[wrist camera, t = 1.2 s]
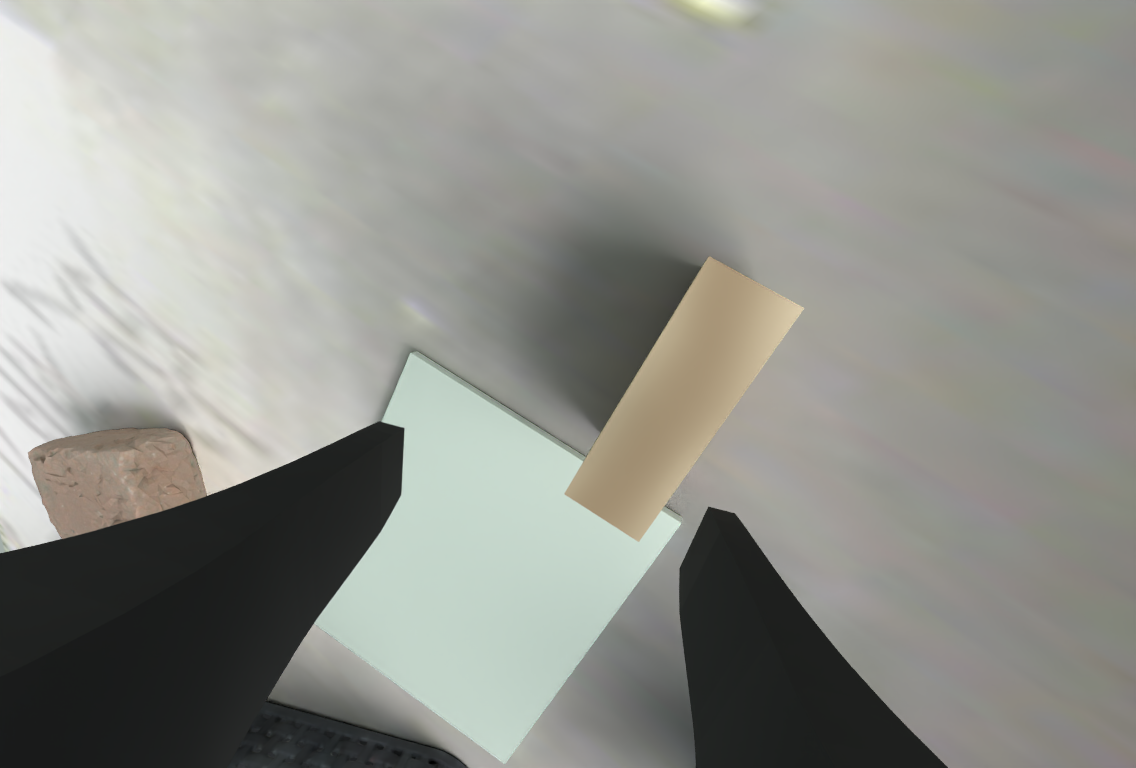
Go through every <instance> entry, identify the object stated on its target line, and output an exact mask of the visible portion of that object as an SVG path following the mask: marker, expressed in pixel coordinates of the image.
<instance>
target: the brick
mask: <svg viewBox="0 0 1136 768" xmlns="http://www.w3.org/2000/svg"><path fill="white" fill-rule="evenodd" d="M28 456H29V459H30V462H31V465H32V473H33V476H34V480H35V482H36V485H37V487H38V490H39V492H40V495H41V497H42V503H43V505H44V506H45V508H46V510H47V512H48V514H49V518H50V521H51V523H52V524H53V525H54V526H55V527H56V530H57V531H58V533H59V535H60V537H61V538H62V539H64V538H68V537H72V536H76V535H80V534H84V533H88V532H91V531H95V530H98V529H102V528H105V527H109V526H112V525H116V524H119V523H123V522H126V521H130V520H133V519H137V518H140V517H144V516H147V515H151V514H154V513H158V512H161V511H164V510H167V509H170V508H173V507H176V506H179V505H182V504H185V503H188V502H191V501H194V500H197V499H200V498H203V497H206V496H207V494H206V490H205V486H204V482H203V478H202V474H201V471H200V468H199V466H198V464H197V460H196V458H195V456H194V455H193V453H192V449H191V446H190V443H189V442H188V441H187V439H186V438H185V437H184V436H183V435H182V434H181V433H179V432H177V431H173V430H169V429H167V428H146V429H135V428H125V429H119V430H104V431H97V432H92V433H88V434H83V435H77V436H70V437H65V438H61V439H56V440H52V441H50V442H47V443H44V444H42V445H40V446H37V447H35V448H34V449H32V450H31V451H30V452H28Z"/></svg>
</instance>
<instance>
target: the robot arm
mask: <svg viewBox="0 0 1136 768" xmlns="http://www.w3.org/2000/svg"><path fill="white" fill-rule="evenodd" d="M404 431H405V428H403V427H399V426H395V425H391V424H387V423H384V422H377V423H375V424H373V425H370V426H368V427H366V428H364V429H361V430H359V431H357V432H355V433H353V434H351V435H349V436H347V437H345V438H343V439H340V440H338V441H336V442H334V443H332V444H330V445H328V446H326V447H323V448H321V449H319V450H317V451H315V452H313V453H311V454H308V455H306V456H304V457H302V458H300V459H298V460H295V461H293V462H291V463H289V464H286V465H284V466H281V467H279V468H277V469H274V470H272V471H269V472H267V473H265V474H262V475H260V476H257V477H255V478H253V479H250V480H248V481H245V482H243V483H241V484H238V485H236V486H233V487H230V488H228V489H225V490H222V491H220V492H217V493H214V494H211V495H209V496H206V497H203V498H200V499H197V500H194V501H191V502H188V503H185V504H182V505H179V506H176V507H173V508H170V509H167V510H164V511H161V512H158V513H154V514H151V515H147V516H144V517H140V518H137V519H133V520H130V521H126V522H123V523H119V524H116V525H112V526H109V527H105V528H102V529H98V530H95V531H91V532H88V533H84V534H80V535H76V536H72V537H68V538H64V539H60V540H56V541H52V542H48V543H44V544H40V545H35V546H31V547H27V548H22V549H18V550H13V551H9V552H5V553H0V768H227V767H228V765H229V764H230V762H231V760H232V758H233V756H234V755H235V753H236V751H237V749H238V747H239V746H240V744H241V742H242V740H243V739H244V737H245V735H246V734H247V732H248V730H249V728H250V727H251V725H252V723H253V722H254V720H255V718H256V716H257V715H258V713H259V711H260V710H261V708H262V706H263V704H264V703H265V701H266V699H267V698H268V696H269V694H270V693H271V691H272V689H273V687H274V686H275V684H276V683H277V681H278V679H279V678H280V676H281V674H282V673H283V671H284V669H285V668H286V666H287V664H288V663H289V661H290V660H291V658H292V656H293V655H294V653H295V651H296V650H297V648H298V646H299V645H300V643H301V642H302V640H303V639H304V637H305V636H306V634H307V633H308V631H309V630H310V628H311V627H312V625H313V624H314V622H315V621H316V620H317V618H318V617H319V615H320V614H321V613H322V611H323V610H324V609H325V607H326V606H327V605H328V603H329V602H330V601H331V599H332V598H333V597H334V595H335V594H336V592H337V591H338V590H339V588H340V587H341V586H342V584H343V583H344V582H345V580H346V579H347V578H348V576H349V575H350V574H351V572H352V571H353V570H354V568H355V567H356V565H357V564H358V563H359V561H360V560H361V559H362V557H363V556H364V555H365V553H366V552H367V550H368V549H369V548H370V546H371V545H372V544H373V542H374V541H375V539H376V538H377V537H378V535H379V534H380V532H381V531H382V529H383V527H384V525H385V524H386V522H387V520H388V518H389V517H390V515H391V513H392V511H393V509H394V508H395V506H396V504H397V502H398V500H399V498H400V497H401V492H402V472H403V451H404ZM679 605H680V621H681V630H682V638H683V646H684V655H685V663H686V670H687V678H688V686H689V694H690V702H691V710H692V718H693V728H694V739H695V752H696V768H948V767H947V766H946V765H945V764H944V763H943V762H942V761H941V760H940V759H939V758H938V757H937V756H936V755H935V754H934V753H933V752H932V751H931V750H930V749H929V748H928V747H927V746H926V745H925V744H924V743H923V742H922V741H921V740H920V739H919V738H918V737H917V736H916V735H915V734H914V733H913V732H912V731H911V730H910V729H909V728H908V727H907V726H906V725H905V724H904V723H903V722H902V721H901V720H900V719H899V718H898V717H897V716H896V715H895V714H894V713H893V712H892V711H891V710H890V709H889V708H888V706H887V705H886V704H885V703H884V702H883V701H882V700H881V699H880V698H879V697H878V696H877V694H876V693H875V692H874V691H873V690H872V689H871V688H870V687H869V686H868V684H867V683H866V682H865V681H864V680H863V679H862V678H861V677H860V676H859V675H858V673H857V672H856V671H855V670H854V669H853V668H852V667H851V666H850V664H849V663H848V662H847V661H846V660H845V659H844V657H843V656H842V655H841V654H840V653H839V652H838V650H837V649H836V648H835V647H834V645H833V644H832V643H831V642H830V641H829V639H828V638H827V637H826V636H825V634H824V633H823V632H822V631H821V629H820V628H819V627H818V626H817V624H816V623H815V622H814V621H813V620H812V618H811V617H810V616H809V614H808V613H807V612H806V611H805V609H804V608H803V607H802V605H801V604H800V603H799V601H798V600H797V599H796V597H795V596H794V595H793V593H792V592H791V591H790V589H789V588H788V587H787V585H786V584H785V583H784V581H783V580H782V579H781V577H780V576H779V574H778V573H777V572H776V570H775V569H774V567H773V566H772V565H771V563H770V562H769V560H768V559H767V558H766V556H765V555H764V553H763V552H762V550H761V549H760V548H759V546H758V545H757V543H756V542H755V541H754V539H753V538H752V536H751V535H750V533H749V532H748V531H747V529H746V528H745V526H744V525H743V524H742V522H741V521H740V520H739V518H738V517H737V516H736V514H735V513H731V512H727V511H723V510H719V509H715V508H711V507H708V509H707V511H706V513H705V515H704V517H703V520H702V522H701V524H700V526H699V528H698V530H697V532H696V535H695V537H694V539H693V541H692V543H691V545H690V547H689V550H688V552H687V554H686V556H685V558H684V560H683V562H682V564H681V567H680V579H679Z"/></svg>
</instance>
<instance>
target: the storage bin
mask: <svg viewBox="0 0 1136 768" xmlns="http://www.w3.org/2000/svg"><path fill="white" fill-rule="evenodd" d="M227 768H466V766H464V765H463V764H462V763H461V762H460V761H459V760H457V759H456V758H454V757H453V756H451V755H449V754H448V753H445V752H443V751H441V750H438V749H435V748H431V747H428V746H424V745H420V744H416V743H413V742H409V741H405V740H402V739H398V738H394V737H391V736H387V735H384V734H380V733H376V732H373V731H369V730H366V729H363V728H359V727H356V726H352V725H349V724H346V723H342V722H338V721H335V720H331V719H328V718H324V717H320V716H316V715H313V714H309V713H305V712H301V711H298V710H294V709H291V708H287V707H284V706H280V705H277V704H273V703H269V702H265V703H264V704H263V706H262V708H261V710H260V711H259V713H258V715H257V716H256V718H255V720H254V722H253V723H252V725H251V727H250V728H249V730H248V732H247V734H246V735H245V737H244V739H243V740H242V742H241V744H240V746H239V747H238V749H237V751H236V753H235V755H234V756H233V758H232V760H231V762H230V764H229V765H228V767H227Z"/></svg>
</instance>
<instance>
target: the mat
mask: <svg viewBox="0 0 1136 768" xmlns="http://www.w3.org/2000/svg"><path fill="white" fill-rule="evenodd" d="M382 422H384V423H387V424H391V425H395V426H399V427H403V428H405V431H404V451H403V472H402V492H401V497H400V498H399V500H398V502H397V504H396V506H395V508H394V509H393V511H392V513H391V515H390V517H389V518H388V520H387V522H386V524H385V525H384V527H383V529H382V531H381V532H380V534H379V535H378V537H377V538H376V539H375V541H374V542H373V544H372V545H371V546H370V548H369V549H368V550H367V552H366V553H365V555H364V556H363V557H362V559H361V560H360V561H359V563H358V564H357V565H356V567H355V568H354V570H353V571H352V572H351V574H350V575H349V576H348V578H347V579H346V580H345V582H344V583H343V584H342V586H341V587H340V588H339V590H338V591H337V592H336V594H335V595H334V597H333V598H332V599H331V601H330V602H329V603H328V605H327V606H326V607H325V609H324V610H323V611H322V613H321V614H320V615H319V617H318V618H317V620H316V621H315V622H314V624H315V625H317V626H318V627H319V628H321V629H322V630H323V631H325V632H326V633H327V634H329V635H330V636H331V637H333V638H334V639H335V640H337V641H338V642H340V643H341V644H342V645H344V646H345V647H346V648H348V649H349V650H350V651H352V652H353V653H354V654H356V655H357V656H359V657H360V658H361V659H363V660H364V661H365V662H367V663H368V664H369V665H371V666H372V667H373V668H375V669H376V670H377V671H379V672H380V673H382V674H383V675H384V676H386V677H387V678H388V679H390V680H391V681H392V682H394V683H395V684H396V685H398V686H399V687H400V688H402V689H403V690H405V691H406V692H407V693H409V694H410V695H411V696H413V697H414V698H415V699H417V700H418V701H419V702H421V703H422V704H424V705H425V706H426V707H428V708H429V709H430V710H432V711H433V712H434V713H436V714H437V715H438V716H440V717H441V718H442V719H444V720H445V721H447V722H448V723H449V724H451V725H452V726H453V727H455V728H456V729H457V730H459V731H460V732H461V733H463V734H464V735H465V736H467V737H468V738H470V739H471V740H472V741H474V742H475V743H476V744H478V745H479V746H480V747H482V748H483V749H484V750H486V751H487V752H489V753H490V754H491V755H493V756H494V757H495V758H497V759H498V760H499V761H501V762H502V763H503V764H505V763H506V762H507V760H508V759H509V758H510V756H511V755H512V754H513V752H514V751H515V750H516V748H517V747H518V745H519V744H520V743H521V741H522V740H523V739H524V737H525V736H526V735H527V733H528V732H529V730H530V729H531V728H532V726H533V725H534V724H535V722H536V721H537V720H538V718H539V717H540V716H541V714H542V713H543V711H544V710H545V709H546V707H547V706H548V705H549V703H550V702H551V701H552V699H553V698H554V696H555V695H556V694H557V692H558V691H559V690H560V688H561V687H562V686H563V684H564V683H565V681H566V680H567V679H568V677H569V676H570V675H571V673H572V672H573V671H574V669H575V668H576V666H577V665H578V664H579V662H580V661H581V660H582V658H583V657H584V656H585V654H586V653H587V651H588V650H589V649H590V647H591V646H592V645H593V643H594V642H595V641H596V639H597V638H598V636H599V635H600V634H601V632H602V631H603V630H604V628H605V627H606V626H607V624H608V623H609V621H610V620H611V619H612V617H613V616H614V615H615V613H616V612H617V611H618V609H619V608H620V606H621V605H622V604H623V602H624V601H625V600H626V598H627V597H628V596H629V594H630V593H631V591H632V590H633V589H634V587H635V586H636V585H637V583H638V582H639V581H640V579H641V578H642V576H643V575H644V574H645V572H646V571H647V570H648V568H649V567H650V566H651V564H652V563H653V562H654V560H655V559H656V557H657V556H658V555H659V553H660V552H661V551H662V549H663V548H664V547H665V545H666V544H667V542H668V541H669V540H670V538H671V537H672V536H673V534H674V533H675V532H676V530H677V529H678V527H679V526H680V525H681V523H682V517H681V516H679V515H678V514H676V513H674V512H673V511H671V510H670V509H668V508H666V507H665V506H664V507H663V509H662V510H661V511H660V513H659V514H658V516H657V517H656V519H655V520H654V521H653V523H652V524H651V526H650V527H649V528H648V530H647V531H646V533H645V534H644V535H643V537H642V538H641V540H640V541H639V542H638V541H636V540H635V539H633V538H632V537H630V536H628V535H627V534H625V533H624V532H622V531H621V530H619V529H618V528H616V527H614V526H613V525H611V524H610V523H608V522H607V521H605V520H604V519H602V518H600V517H599V516H597V515H596V514H594V513H593V512H591V511H590V510H588V509H586V508H585V507H583V506H582V505H580V504H579V503H577V502H576V501H574V500H572V499H571V498H569V497H568V496H566V495H565V494H564V493H565V492H566V490H567V488H568V486H569V485H570V483H571V481H572V480H573V478H574V476H575V475H576V473H577V471H578V470H579V468H580V466H581V465H582V463H583V461H584V460H585V458H586V457H585V456H583V455H582V454H580V453H579V452H577V451H576V450H574V449H572V448H571V447H569V446H568V445H566V444H564V443H563V442H561V441H560V440H558V439H556V438H555V437H553V436H552V435H550V434H548V433H547V432H545V431H544V430H542V429H540V428H539V427H537V426H536V425H534V424H532V423H531V422H529V421H528V420H526V419H524V418H523V417H521V416H520V415H518V414H516V413H515V412H513V411H512V410H510V409H509V408H507V407H505V406H504V405H502V404H501V403H499V402H497V401H496V400H494V399H493V398H491V397H489V396H488V395H486V394H485V393H483V392H481V391H480V390H478V389H477V388H475V387H473V386H472V385H470V384H469V383H467V382H465V381H464V380H462V379H461V378H459V377H457V376H456V375H454V374H453V373H451V372H449V371H448V370H446V369H445V368H443V367H442V366H440V365H438V364H437V363H435V362H434V361H432V360H430V359H429V358H427V357H426V356H424V355H422V354H421V353H419V352H418V351H416V352H412V353H410V355H409V357H408V360H407V362H406V365H405V367H404V369H403V372H402V374H401V377H400V379H399V381H398V384H397V386H396V388H395V391H394V393H393V396H392V398H391V400H390V403H389V405H388V408H387V410H386V412H385V415H384V417H383V419H382Z"/></svg>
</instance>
